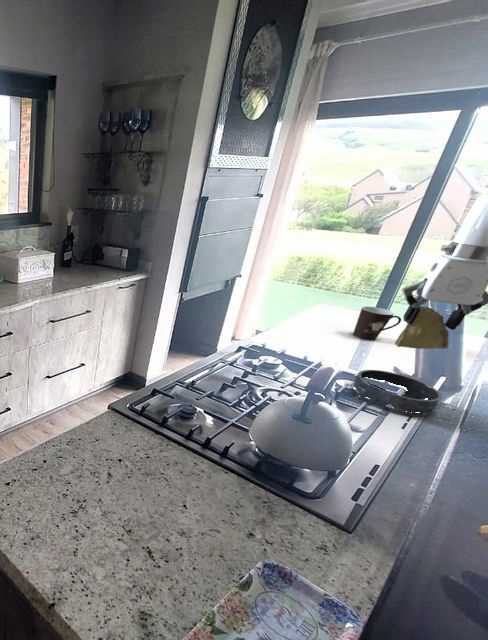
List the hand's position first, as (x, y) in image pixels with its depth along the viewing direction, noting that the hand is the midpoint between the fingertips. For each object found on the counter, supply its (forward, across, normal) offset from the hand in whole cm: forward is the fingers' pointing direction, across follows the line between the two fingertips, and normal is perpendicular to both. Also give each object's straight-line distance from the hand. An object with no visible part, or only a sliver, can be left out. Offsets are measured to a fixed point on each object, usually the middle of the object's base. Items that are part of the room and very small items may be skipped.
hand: (428, 324), depth 100 cm
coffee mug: (+20, +10, +46) cm, 52 cm away
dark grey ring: (+20, -1, -5) cm, 20 cm away
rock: (+6, +1, 0) cm, 6 cm away
